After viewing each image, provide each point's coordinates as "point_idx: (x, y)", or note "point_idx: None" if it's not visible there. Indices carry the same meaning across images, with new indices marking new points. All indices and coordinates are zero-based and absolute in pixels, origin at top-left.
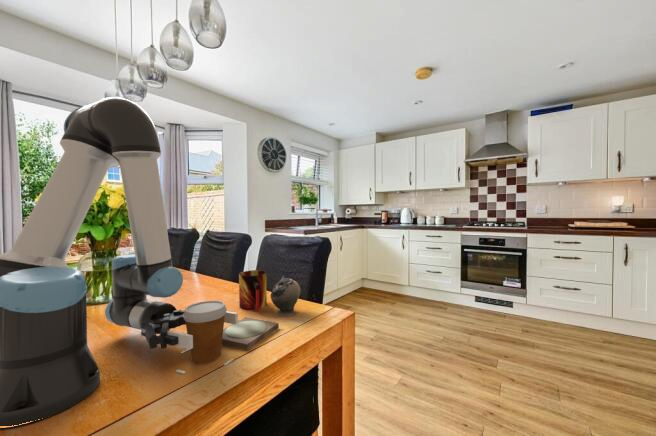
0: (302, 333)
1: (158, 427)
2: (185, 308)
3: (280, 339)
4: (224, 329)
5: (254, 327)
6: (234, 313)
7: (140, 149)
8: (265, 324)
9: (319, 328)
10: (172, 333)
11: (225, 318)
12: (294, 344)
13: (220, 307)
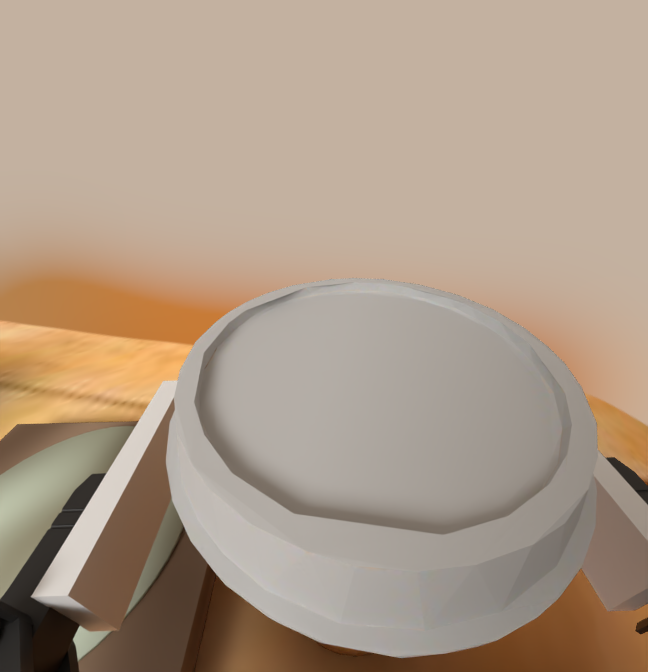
0: (110, 360)
1: (585, 393)
2: (589, 478)
3: (153, 389)
4: None
5: (56, 488)
6: (173, 390)
7: None
8: (24, 460)
9: (78, 341)
10: (643, 509)
11: (157, 488)
12: (188, 351)
13: (332, 282)
